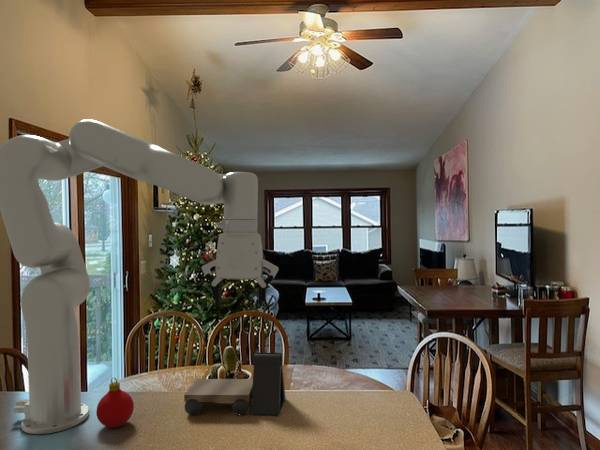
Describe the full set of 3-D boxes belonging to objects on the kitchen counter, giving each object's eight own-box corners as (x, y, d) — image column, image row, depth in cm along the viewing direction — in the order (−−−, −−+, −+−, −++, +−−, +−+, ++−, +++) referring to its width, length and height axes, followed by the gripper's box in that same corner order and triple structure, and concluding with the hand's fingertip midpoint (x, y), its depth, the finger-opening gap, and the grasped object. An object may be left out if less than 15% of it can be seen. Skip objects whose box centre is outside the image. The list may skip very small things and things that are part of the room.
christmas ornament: (89, 430, 88) (87, 381, 88) (117, 415, 95) (115, 369, 94) (114, 437, 85) (112, 386, 85) (141, 421, 92) (140, 374, 91)
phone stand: (278, 416, 92) (277, 360, 92) (250, 415, 93) (249, 359, 93) (285, 398, 101) (284, 347, 101) (260, 397, 102) (259, 347, 102)
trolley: (184, 415, 94) (184, 394, 93) (197, 397, 103) (196, 378, 102) (249, 415, 93) (248, 395, 93) (255, 397, 102) (255, 379, 102)
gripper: (197, 227, 94) (196, 306, 95) (276, 228, 93) (275, 308, 93) (207, 226, 102) (206, 299, 102) (280, 228, 101) (279, 301, 101)
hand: (239, 303), depth 98 cm, fingers open, 9 cm apart
